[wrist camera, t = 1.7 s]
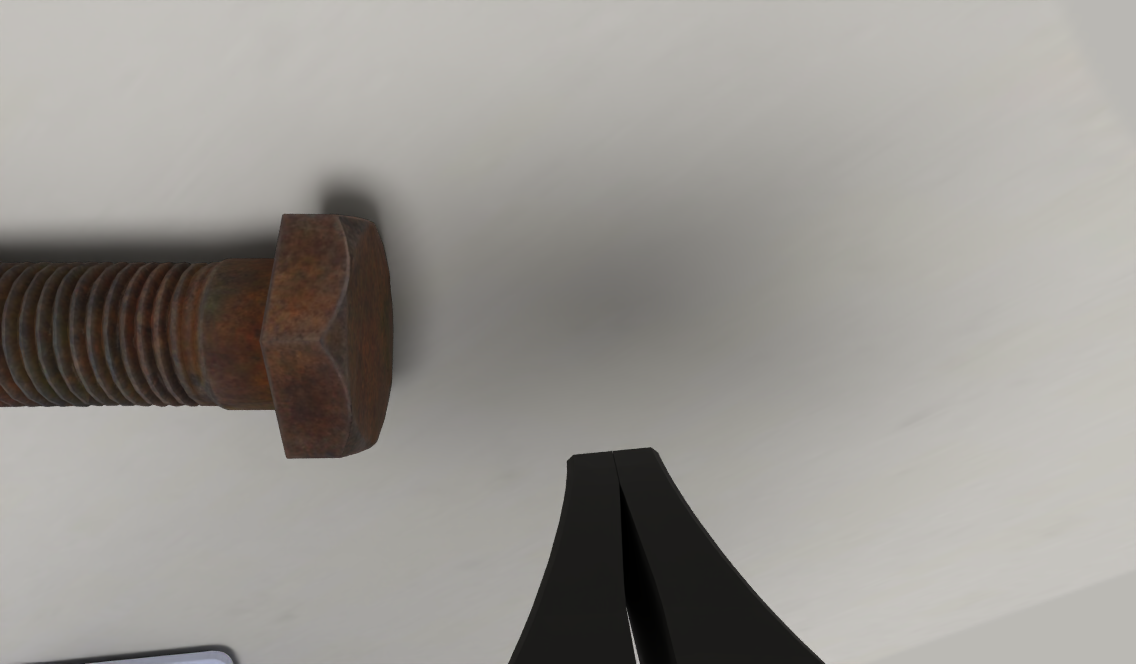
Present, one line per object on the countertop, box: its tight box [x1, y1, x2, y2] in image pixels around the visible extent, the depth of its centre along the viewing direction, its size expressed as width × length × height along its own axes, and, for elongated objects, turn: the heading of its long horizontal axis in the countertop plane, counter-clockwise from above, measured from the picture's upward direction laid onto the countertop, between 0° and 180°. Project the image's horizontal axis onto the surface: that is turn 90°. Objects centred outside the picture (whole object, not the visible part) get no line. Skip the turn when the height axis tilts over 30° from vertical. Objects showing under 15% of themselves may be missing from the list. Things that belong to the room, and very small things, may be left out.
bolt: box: [0, 214, 393, 459], centre depth 17 cm, size 6×5×15 cm
